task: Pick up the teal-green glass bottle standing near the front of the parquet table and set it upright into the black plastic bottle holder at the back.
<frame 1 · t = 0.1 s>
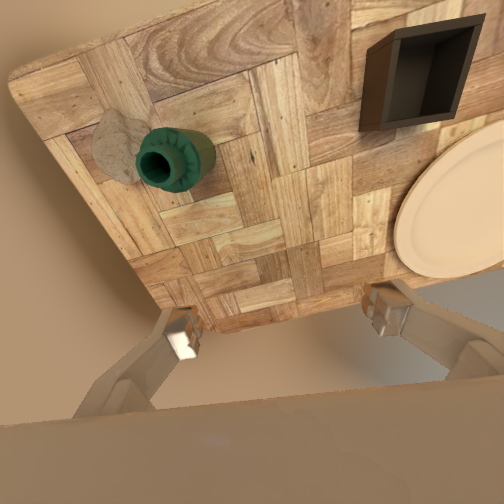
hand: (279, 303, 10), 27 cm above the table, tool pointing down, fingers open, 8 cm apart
holder: (395, 88, 27), on the table
plate: (467, 207, 36), on the table
bottle: (196, 153, 31), on the table
stone: (125, 148, 30), on the table
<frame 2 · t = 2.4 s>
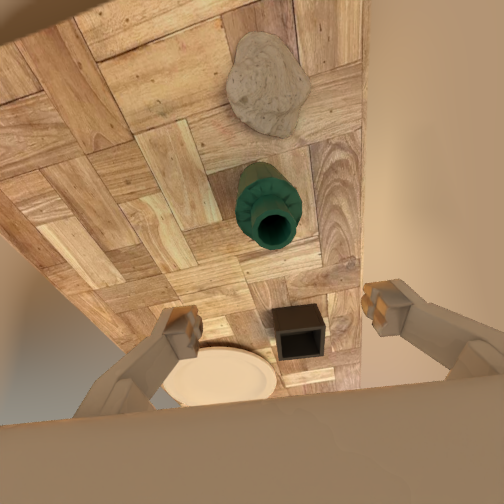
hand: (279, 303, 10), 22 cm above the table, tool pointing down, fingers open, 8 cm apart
holder: (294, 321, 43), on the table
plate: (221, 374, 52), on the table
bottle: (260, 185, 29), on the table
stone: (269, 91, 23), on the table
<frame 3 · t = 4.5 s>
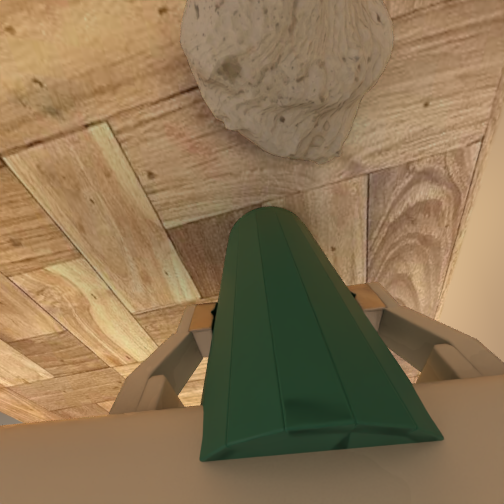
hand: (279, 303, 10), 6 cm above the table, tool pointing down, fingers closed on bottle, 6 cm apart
bottle: (268, 245, 15), on the table, touching gripper
stone: (291, 58, 10), on the table
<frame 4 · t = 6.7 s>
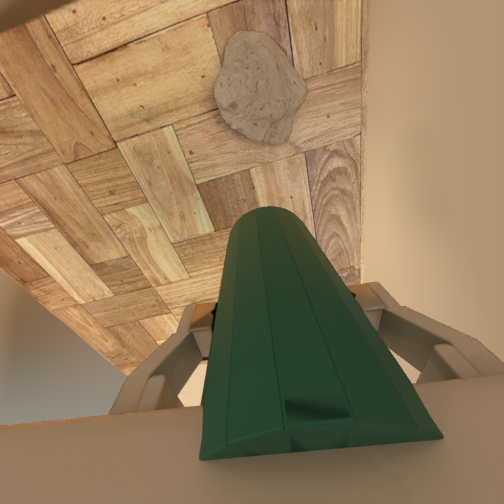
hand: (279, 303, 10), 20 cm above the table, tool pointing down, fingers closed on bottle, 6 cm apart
plate: (217, 386, 50), on the table
bottle: (268, 244, 15), point 14 cm above the table, touching gripper
stone: (261, 95, 22), on the table
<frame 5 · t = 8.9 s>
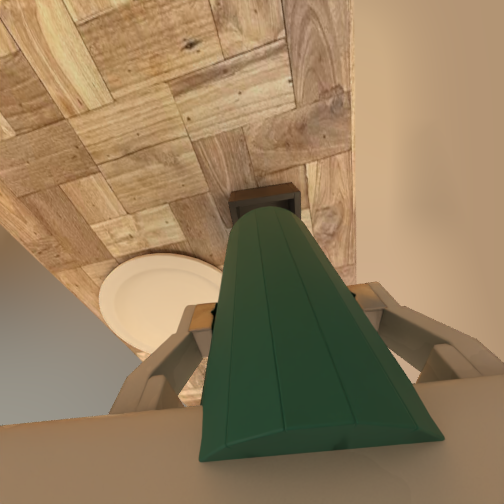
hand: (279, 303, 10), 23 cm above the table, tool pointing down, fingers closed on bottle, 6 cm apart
holder: (264, 215, 32), on the table
plate: (180, 307, 41), on the table
bottle: (268, 244, 15), point 17 cm above the table, touching gripper
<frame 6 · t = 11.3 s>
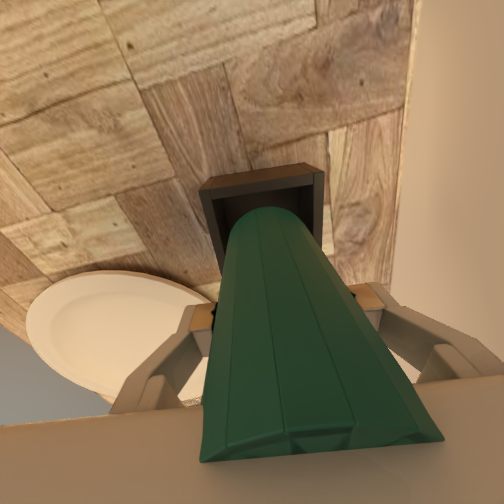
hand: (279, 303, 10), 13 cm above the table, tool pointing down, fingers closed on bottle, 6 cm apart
holder: (262, 215, 21), on the table
plate: (148, 338, 31), on the table
bottle: (268, 245, 15), point 7 cm above the table, touching gripper
when the fingers open (7 cm above the table, at t = 13.3 s): bottle stays where it is, resting on holder.
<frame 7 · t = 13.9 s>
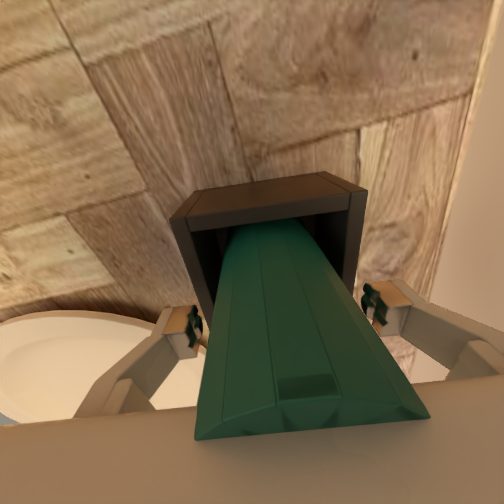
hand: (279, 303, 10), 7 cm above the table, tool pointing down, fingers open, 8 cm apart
holder: (265, 239, 16), on the table
plate: (126, 379, 25), on the table
bottle: (266, 242, 15), resting on holder
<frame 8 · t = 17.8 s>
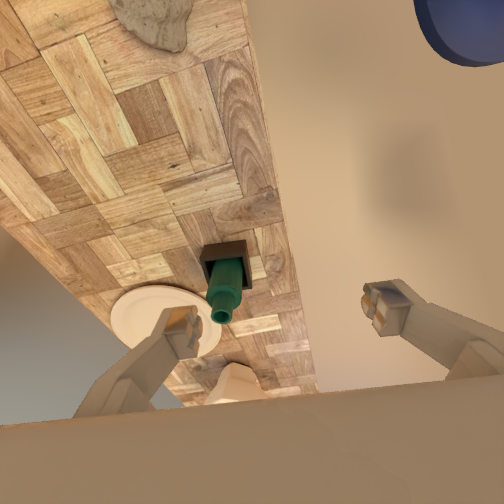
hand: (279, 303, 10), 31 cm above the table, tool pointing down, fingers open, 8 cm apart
holder: (229, 259, 45), on the table
plate: (170, 321, 55), on the table
bottle: (228, 261, 45), resting on holder
bowl: (236, 368, 66), on the table
stone: (155, 5, 26), on the table
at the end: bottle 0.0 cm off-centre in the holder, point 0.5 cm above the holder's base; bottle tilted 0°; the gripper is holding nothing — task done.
